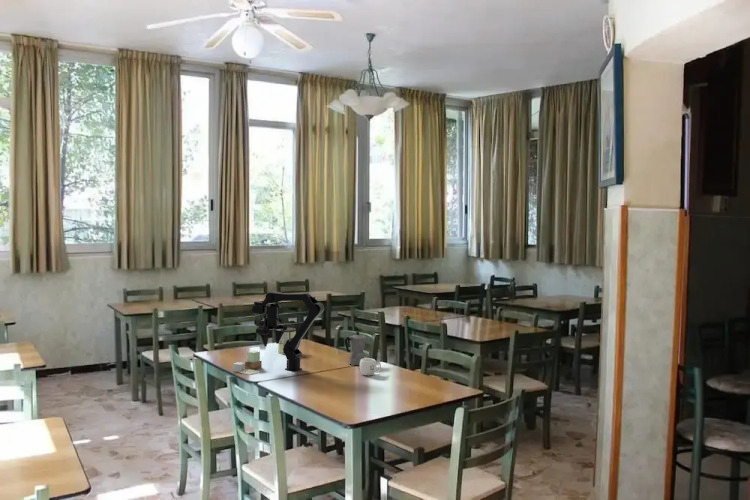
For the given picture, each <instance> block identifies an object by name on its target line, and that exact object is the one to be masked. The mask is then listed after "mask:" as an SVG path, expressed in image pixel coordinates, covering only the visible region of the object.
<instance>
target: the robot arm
mask: <svg viewBox="0 0 750 500" xmlns="http://www.w3.org/2000/svg"><path fill="white" fill-rule="evenodd" d="M280 302H303V303H304V304H305V306H306V307H307V308H308V312H307V316H306V318H305V319H304V320H303V322H302V324H301V326H299V329H298V330H296V334H295V336H294V337H293V339H292V338H290V339H288V340H287V341H286V344H285V345H284V348H283V352H284V354H283V355H285V359H286V368H285V369H284V370H286V371H290V372H297V371H300V370H302V369H303V368H302V367H301V356H302V352H303V351H302V352H301V350H300V349H299V347H300V345H301V341H302V340H303V338H304V337H305V335H306V334H307V332H308V331H309V328H311V326H312V325H313V323H314V322H315V320H316V319H317V318H318V317H320V316H321V315H322V314H323V312H324V311H325V306H324V304H323V303H322V302H320V301H318V299H316V298H315V297H313V296H312V295H311V294H310V293H308V292H304V293H300V292H299V293H284V292H280V291H275V290H274V291H270V292H267V293H266V295H265V298H264V299H263V301H254V302H253V305H252V308H251V313H252V314H253V315H259V316H262V315H263V316H265V314H266V317H264V319H263V320H261V319H257V320H255V326H256V328H255V333H256V334H257V335H259V336H260V337H261V340H262V343H263V346H264V347H267V345H268V342H269V336H270V332H272V331H274V333H275V343H276V344H277V345H278V343H279V341H280V339H281V337H282V335H283V334H284V332H285V330H287V327H288V325H287V324H286V323H278V321H279V320H280V317H279V316H278V311H279V310H278V309H279V308H282V305H281V304H280Z"/></svg>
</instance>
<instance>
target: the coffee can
mask: <svg viewBox="0 0 750 500" xmlns="http://www.w3.org/2000/svg"><path fill="white" fill-rule="evenodd" d="M296 333H297V328H295V327H288V326H287V330H285V332H284V334H283V335H282V337H281V339H280V341H279V343H278V344H277V345H278V346H277V351H278V352H277V353H278V354H280V355H285V354H284V352H283V348H284V345H285V344H286V341H287V340H288V339H290V338H292V339H293V337H294V336H295V334H296Z"/></svg>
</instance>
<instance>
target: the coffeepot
mask: <svg viewBox="0 0 750 500" xmlns="http://www.w3.org/2000/svg"><path fill="white" fill-rule="evenodd" d="M355 333H356V334H354V335H349V336H346V337H345V339H344V341H343V342H344V345H345V349H346V352H347V353H350V354H349V357H348V358H349V359H348V364H349V365H350V364H351V365H350V366H353V365H360V360H361V359H364V358H365V352H364V350H365V346H366V340H367V338H368V336H367V335H361V334H360V331H355ZM348 341H349V342H348ZM348 343H349V344H348ZM349 347H350V349H349Z"/></svg>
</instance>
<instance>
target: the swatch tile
mask: <svg viewBox="0 0 750 500" xmlns="http://www.w3.org/2000/svg"><path fill="white" fill-rule="evenodd" d="M258 373H260V371H259V370H250V369H245V371H241V372H239V374H244V375H249V376H250V375H252V376H253V375H254V374H258Z"/></svg>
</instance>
